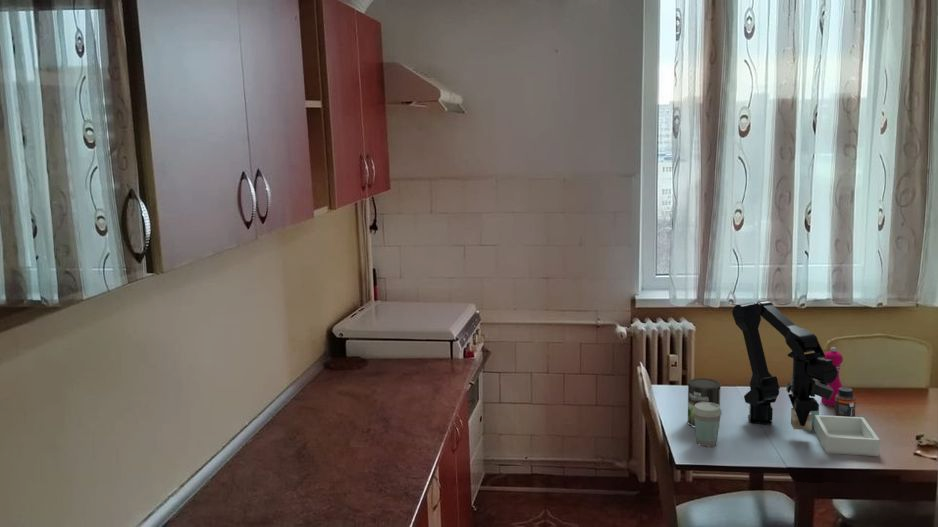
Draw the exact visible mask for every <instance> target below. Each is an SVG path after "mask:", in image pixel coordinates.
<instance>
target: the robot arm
mask: <svg viewBox="0 0 938 527" xmlns="http://www.w3.org/2000/svg"><path fill="white" fill-rule="evenodd" d="M731 312H732V313H731V314H732V316H733V317H732V318H733V321H734V323H735V325H736V326H737V327H738V328H739V329H740V331H742V335H743V339H744V342H745V347H746V351H747V355H748V360H749V365H750V370H751V374H752V375H751V378H750V381H749V387H750V388H749V389H750V390H749V391H748V392H747V393H745V394H744V395H743V398H744V402H745V403H746V404H749V406H748V408H749V410H748V411H749V413H748V415H747V416H748V420H749V423H751V424H765V425H766V424H769V425H771V424H772V421H773V413H774V412H773V407H772V403H774V404H775V403H776V401H777V399H778V397H779V395H780V389H781V387H780V385H779V382H778V378H777V376H776V375H775V376H773V375H772V373H770V372H769V368H768V365H767V360H766V356H765V352H764V347H763V344H762V343H763V342H762V339H761V335H760V331H759V328H760V324H761V321H762V318H763V319H764V320H765V321H766V322H767V323H768V324H769V325H771V327H772V328H774V329H775V330H776V331H777V332H778V333H780V334H781V335H782V337H783V338H784V340H785V344H786V345H787V346H788V348H789V349H790V350H791V352H789V353H788V354H787V357H789V358H791V359H792V374H791V377H790V378H791V379H792V381H789V382H787V383H786V385H785V386H786V387H785V388H786V392H787V393H788V399H789V400H790V402H791V403H790V404H791V406H792V408H794V409H795V411H796V414H797V417H798V420H799V422H800V425H801V426H805V424H806V421H807V418H808V415H809V413H810V411H819V412H820V404H819V402H818V400H816V399H815V397H816V396H818V397H821V398H822V397H823V398H825V399H827V400H830V398H831V396H832V394H833V392H834V390H833V389H832V387H830V386H829V385H827V383H832V382H833V381H834V380H835V379H836V377H837V374H838V371H837V368H836V367H835V365H833V364H832V363H833V361H832V360H830V359H824V357H825V352H824V350H823V348H822V346H821V343H820V342H819V340H818V337H817V336H816V335H815V334H814V333H813V332H812V331H810V330H808V329H806V328H803V327H800V326H798V325H796V324H795V323H794V322H792V321H791V320H790V318H788V317H787V316H785V314H783V313H782V312H781V311H780V310H779V309H778V308H777V307H775V305H774V304H773V302H771V301H768V300H767V301H758V302H756V303H754V302H748V303H747V302H746V303H740V304H736V305H735V306H734V307H733V309H732V310H731ZM789 393H790V394H789Z"/></svg>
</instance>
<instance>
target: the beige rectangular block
mask: <svg viewBox="0 0 938 527" xmlns="http://www.w3.org/2000/svg"><path fill="white" fill-rule="evenodd" d="M790 424H791V427H792V429H793V430H800V431H801V430H802V431H803V430H804V431H812V428H811V426H812V414H811V412H810V413H809V415H808V418H807V421H806V424H805V426H801V425H800V422H799V420H798V417H797V414H796V411H795V409H794V408H793V407H791V410H790Z"/></svg>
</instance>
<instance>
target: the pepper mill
mask: <svg viewBox="0 0 938 527" xmlns="http://www.w3.org/2000/svg"><path fill="white" fill-rule="evenodd" d="M824 354H825V357H823V358H824V359H830V360H832V361H833V363H832V364H833V365H835V367H836V368H837V371H838V374H837V377H836V379H835V380H834V381H833V382H832V383H827V385H829V386H830V387H832V389H833V390H834V392H833V394H832V396H831V398H830V400H827V399H825V398H823V397H821V400H820V401H821V403H823V404H824V405H827V406H835V396H836V395H837V394H839V388H842V387H843V384H842V382H841V380H840V375H839V374H840V371H841V370H842V369H841V367H842V366H841V364H842V363H843V359H844V358H843V355H842V354H841V353H840V352H839V351H837V347H835V346H832V347H830V350H828V351H827V352H824Z"/></svg>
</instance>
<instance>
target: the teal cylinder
mask: <svg viewBox="0 0 938 527" xmlns="http://www.w3.org/2000/svg"><path fill="white" fill-rule="evenodd" d="M810 412H811V414H812V426H811V429H814V421H815V415H820V410H819V411H810Z"/></svg>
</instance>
